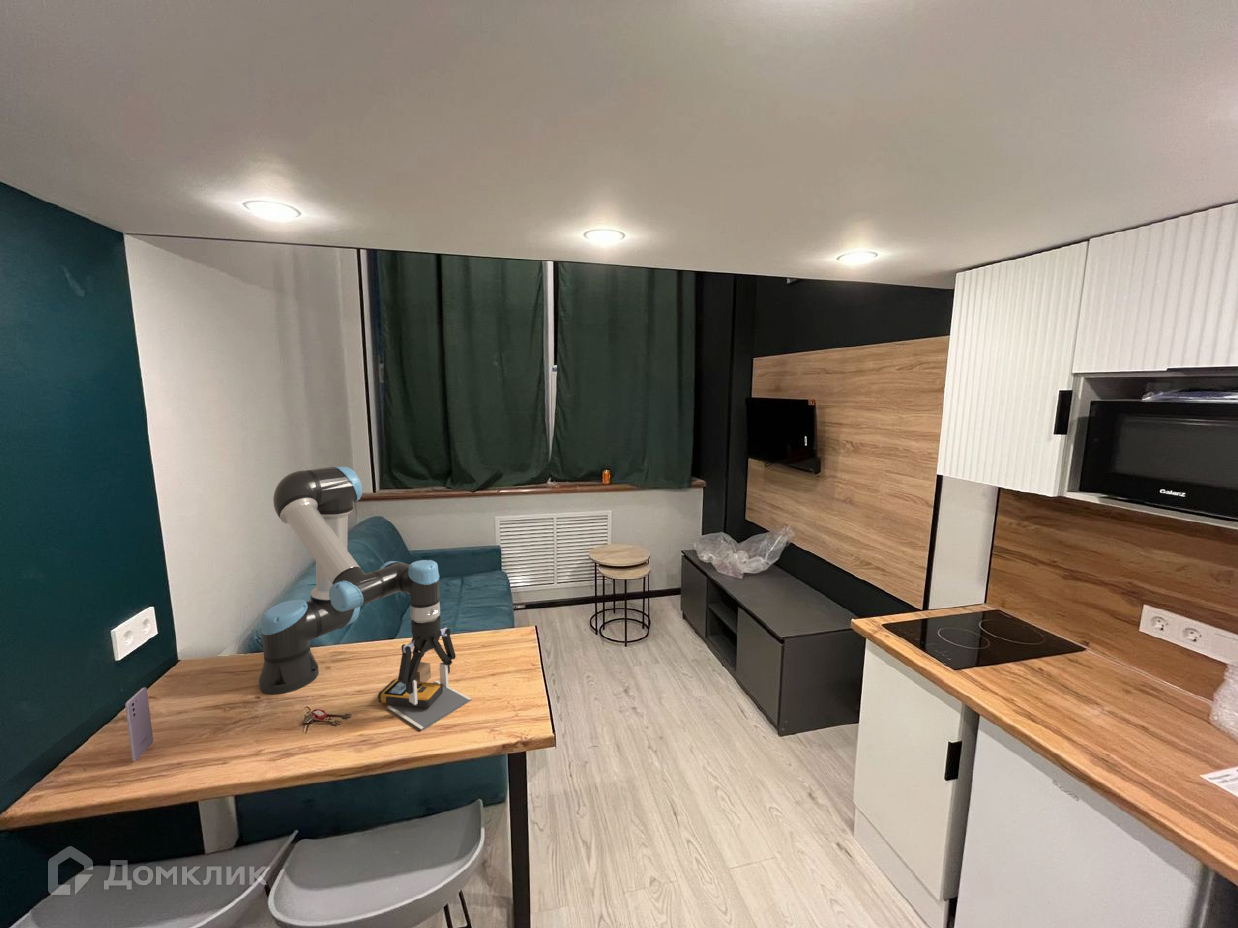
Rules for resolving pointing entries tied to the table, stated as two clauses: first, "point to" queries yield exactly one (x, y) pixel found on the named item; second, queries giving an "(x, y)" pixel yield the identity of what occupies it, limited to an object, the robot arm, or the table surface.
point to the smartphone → (139, 723)
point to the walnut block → (423, 672)
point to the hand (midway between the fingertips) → (429, 693)
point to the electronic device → (399, 696)
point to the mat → (431, 709)
